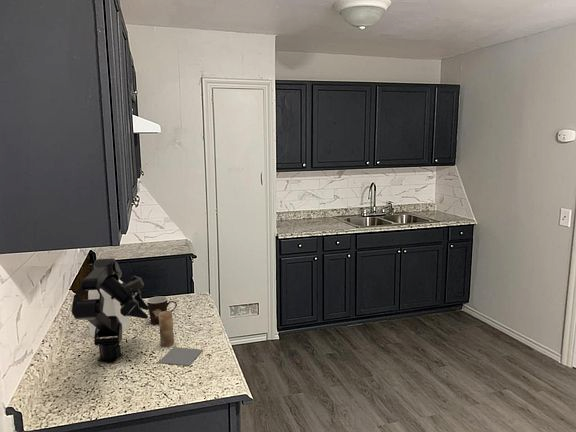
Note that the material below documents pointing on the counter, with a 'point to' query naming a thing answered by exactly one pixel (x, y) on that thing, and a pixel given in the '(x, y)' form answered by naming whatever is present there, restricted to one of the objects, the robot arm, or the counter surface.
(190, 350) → the mat
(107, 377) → the counter surface
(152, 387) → the counter surface
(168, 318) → the pepper mill
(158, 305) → the coffee mug
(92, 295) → the milk
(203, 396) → the counter surface
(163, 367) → the counter surface
